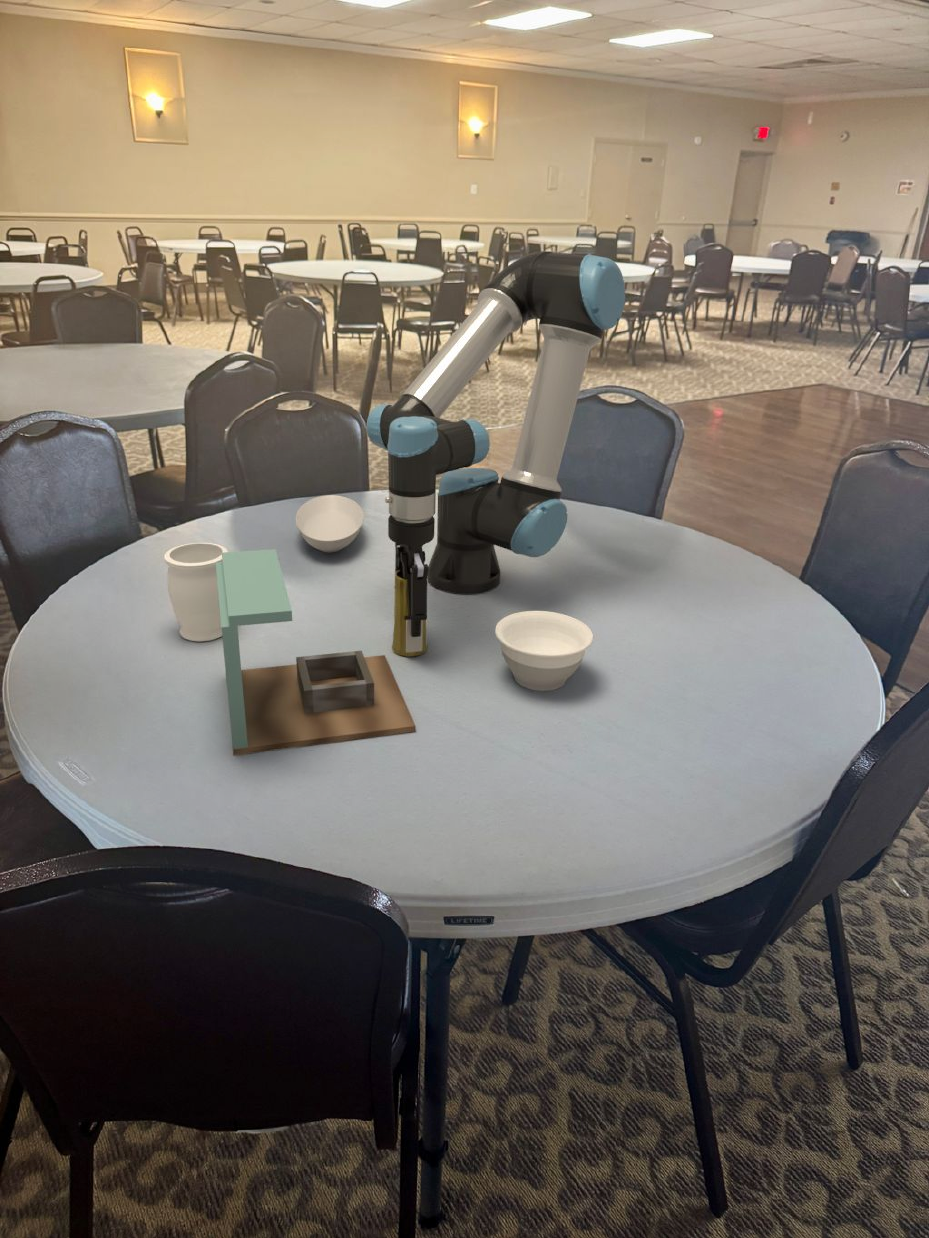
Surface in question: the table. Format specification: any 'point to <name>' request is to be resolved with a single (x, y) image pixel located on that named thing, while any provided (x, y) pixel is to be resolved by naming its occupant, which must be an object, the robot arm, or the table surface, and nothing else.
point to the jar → (195, 589)
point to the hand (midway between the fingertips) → (409, 641)
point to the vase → (399, 621)
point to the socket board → (322, 702)
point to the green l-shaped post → (247, 616)
